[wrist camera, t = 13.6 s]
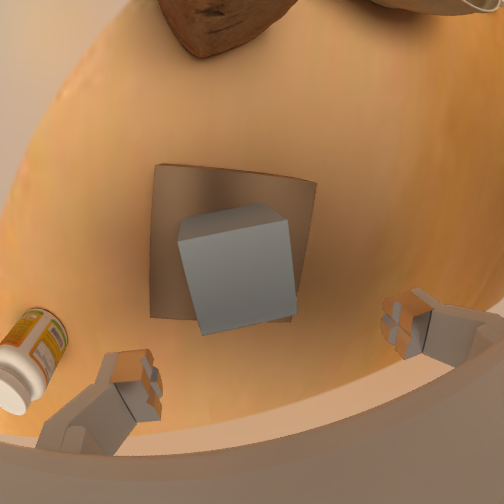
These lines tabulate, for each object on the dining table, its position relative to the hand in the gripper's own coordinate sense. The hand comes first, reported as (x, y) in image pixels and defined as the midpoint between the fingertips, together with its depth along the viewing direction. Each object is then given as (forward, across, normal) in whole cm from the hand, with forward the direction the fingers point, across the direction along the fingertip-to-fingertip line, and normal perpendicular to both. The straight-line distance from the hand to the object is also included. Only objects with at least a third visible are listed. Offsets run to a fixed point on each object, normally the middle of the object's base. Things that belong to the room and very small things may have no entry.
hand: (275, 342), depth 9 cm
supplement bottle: (+15, +19, +6) cm, 25 cm away
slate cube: (+10, 0, 0) cm, 10 cm away
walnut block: (+15, 0, 0) cm, 15 cm away
